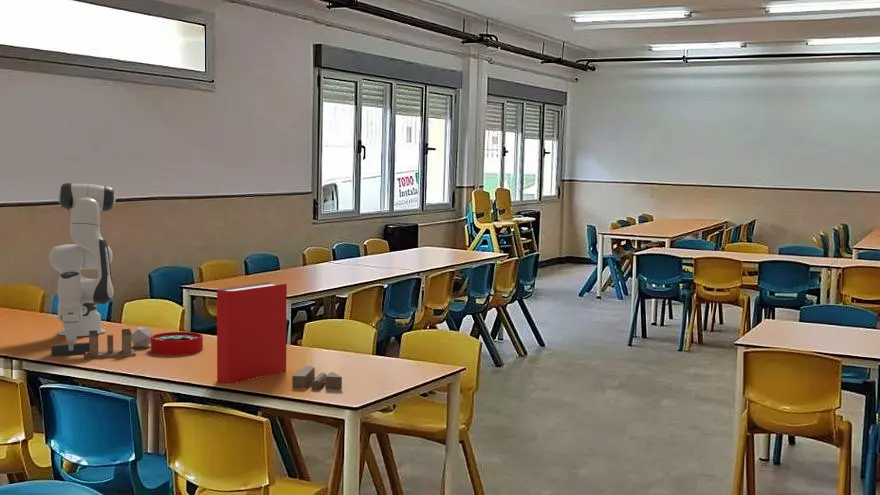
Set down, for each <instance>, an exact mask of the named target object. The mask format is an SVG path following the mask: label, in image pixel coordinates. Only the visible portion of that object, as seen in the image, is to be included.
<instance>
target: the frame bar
mask: <svg viewBox="0 0 880 495" xmlns="http://www.w3.org/2000/svg"><path fill="white" fill-rule="evenodd" d="M85 352H89V341H87V342H86V341H84V342H74V350H72V351H69V348H68V343H59V344H58V343H57V344H51V345H50V355H51V356H52V357H55V356H66V355H67V356H68V355H79V354H85Z"/></svg>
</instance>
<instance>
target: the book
mask: <svg viewBox="0 0 880 495" xmlns="http://www.w3.org/2000/svg"><path fill="white" fill-rule="evenodd" d="M287 285H288V283H282V284H272V283H271V281H267V282H265V281H264V282H259V283H258V282H257V283H251V284H245V285H243V284H242V285H235V286H230V287H222V288H217V289H216V361H217V362H216V378H217V380H216V382H217V381H220V382H219V383H222V382H225V383H224V384H227V383H235V384H237V383H236V382H239V383H241V382H240V381H243V380H247V381H249V380H248V379H251V380H253V379H252V378H255V379H257V378H256V377H259V378H261V377H260V376H262V377H265V375H266V376H270V375H273V373H274V374H278V373H282V372H286V371H287V323H288V322H287V320H288V318H287V317H288V316H287V314H288V313H287V312H288V311H287V306H288V304H287V301H288V300H287V299H288V297H287V293H288V292H287V289H288V288H287ZM285 370H286V371H285ZM281 371H282V372H281ZM277 372H278V373H277ZM269 374H270V375H269ZM243 382H244V381H243Z"/></svg>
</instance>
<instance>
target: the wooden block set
mask: <svg viewBox="0 0 880 495" xmlns="http://www.w3.org/2000/svg"><path fill="white" fill-rule="evenodd" d="M315 372H316V369H315V367H314V366H311V365H304V366H303V367H302V368H301V369H298V370H297V371H296V373H294V374H293V375H292V379H291V380H292V381H291V382H292V384H291V385H292V389H298V388H306V387H307V386H308V385H309V384H310V383H311V384H310V385H309V386H310V387H311V389H312V390H314V389H317V390H319V389H320V388H321V387H322V386H323V385H324V384H325V390H326V389H342V390H343V376H341V375H340V374H337V373H335V372H334V371H332V372H329V373H327V374H326V373H325V372H320V373H318V375H317V376H316V377H315ZM309 386H308V387H309ZM308 387H307V388H308Z"/></svg>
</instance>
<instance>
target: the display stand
mask: <svg viewBox="0 0 880 495" xmlns="http://www.w3.org/2000/svg"><path fill="white" fill-rule="evenodd" d="M131 334H132V331H131V328H122V329H121V349H118V350H114V335H113V334H112V333H111V334H110V333H109V334H106V338H107V339H106V340H107V343H106V347H107V350H102V351H101V350H100V351H99V334H98V333H97V330H95V331H89V336H88V338H89V340H88V342H89V352H85V353H84V355H85V356H84V357H85V359H86V360H89V359H92V360H93V359H107V358H123V357H136V355H137V354H136V351H135V349H133V348H132V341H131Z"/></svg>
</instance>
